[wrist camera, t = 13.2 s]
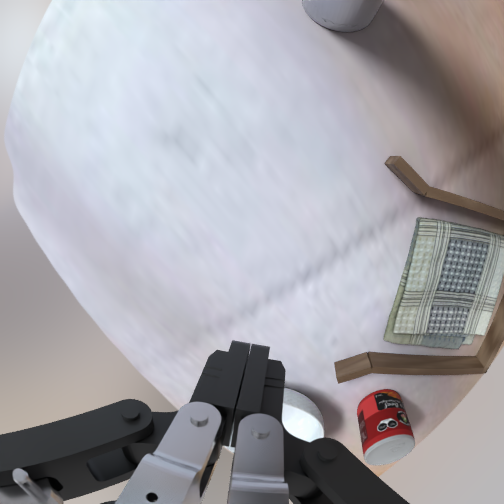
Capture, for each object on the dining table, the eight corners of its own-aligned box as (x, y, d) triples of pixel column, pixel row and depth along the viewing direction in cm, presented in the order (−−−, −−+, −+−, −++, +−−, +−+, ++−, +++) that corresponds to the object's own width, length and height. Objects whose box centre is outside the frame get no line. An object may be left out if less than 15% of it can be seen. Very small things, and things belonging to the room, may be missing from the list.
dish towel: (413, 212, 32) (423, 217, 29) (506, 234, 31) (518, 240, 28) (379, 339, 38) (384, 352, 35) (469, 342, 37) (477, 353, 34)
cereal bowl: (269, 352, 41) (264, 385, 34) (343, 403, 42) (347, 435, 35) (204, 403, 46) (193, 432, 39) (274, 444, 47) (271, 472, 41)
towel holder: (385, 155, 30) (395, 154, 27) (532, 206, 28) (545, 211, 25) (332, 367, 40) (334, 383, 37) (471, 372, 38) (479, 384, 34)
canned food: (408, 396, 40) (424, 442, 30) (376, 422, 43) (385, 469, 33) (380, 381, 40) (395, 432, 30) (347, 410, 43) (353, 460, 32)
